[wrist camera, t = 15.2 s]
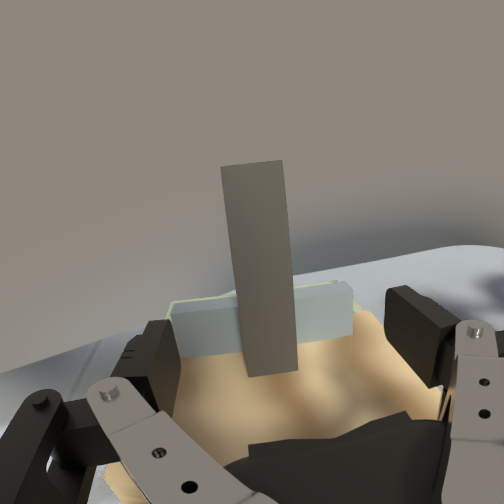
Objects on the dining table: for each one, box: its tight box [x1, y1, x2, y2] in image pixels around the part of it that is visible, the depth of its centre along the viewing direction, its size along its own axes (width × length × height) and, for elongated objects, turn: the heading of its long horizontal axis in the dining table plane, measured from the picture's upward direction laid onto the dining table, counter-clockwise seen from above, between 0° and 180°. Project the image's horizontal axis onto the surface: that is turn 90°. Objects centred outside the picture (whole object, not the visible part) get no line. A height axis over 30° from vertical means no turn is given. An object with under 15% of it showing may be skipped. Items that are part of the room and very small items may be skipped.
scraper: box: [170, 160, 353, 378], centre depth 22 cm, size 14×6×14 cm, turn 94°
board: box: [103, 311, 441, 504], centre depth 21 cm, size 20×16×5 cm
